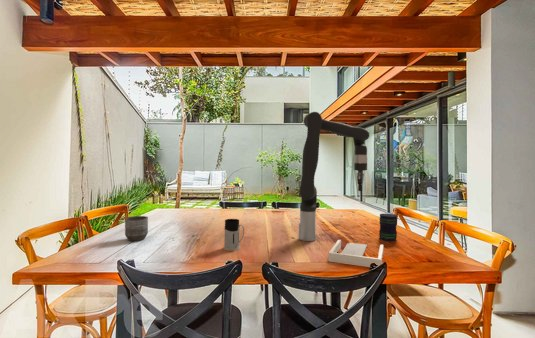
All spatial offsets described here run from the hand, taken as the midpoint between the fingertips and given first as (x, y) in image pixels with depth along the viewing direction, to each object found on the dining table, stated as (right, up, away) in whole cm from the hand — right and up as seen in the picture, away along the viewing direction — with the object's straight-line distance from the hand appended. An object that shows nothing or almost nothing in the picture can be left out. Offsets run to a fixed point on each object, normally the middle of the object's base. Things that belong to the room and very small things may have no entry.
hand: (360, 191), depth 179 cm
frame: (-12, -30, -34) cm, 47 cm away
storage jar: (+16, -29, -1) cm, 34 cm away
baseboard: (-13, -30, -27) cm, 43 cm away
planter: (-132, -28, -7) cm, 136 cm away
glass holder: (-73, -29, -24) cm, 82 cm away
